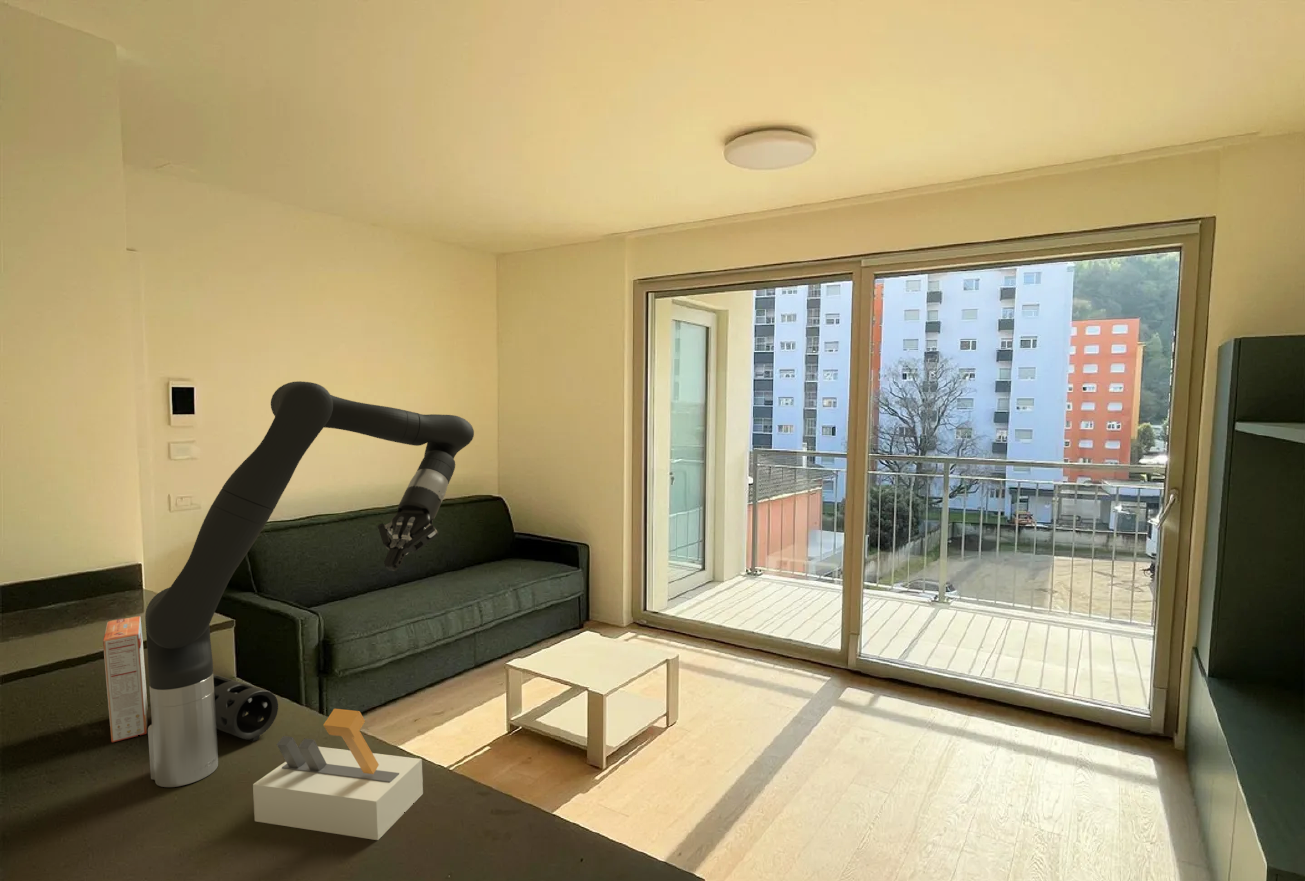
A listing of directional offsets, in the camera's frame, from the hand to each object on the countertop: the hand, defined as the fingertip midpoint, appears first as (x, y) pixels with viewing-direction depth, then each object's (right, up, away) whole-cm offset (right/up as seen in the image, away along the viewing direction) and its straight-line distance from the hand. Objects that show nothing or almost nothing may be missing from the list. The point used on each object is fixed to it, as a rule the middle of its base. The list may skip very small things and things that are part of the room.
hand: (390, 568), depth 127 cm
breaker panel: (0, -35, -19) cm, 40 cm away
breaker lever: (+5, -28, -21) cm, 36 cm away
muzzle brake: (-39, -34, +9) cm, 53 cm away
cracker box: (-57, -34, +10) cm, 68 cm away
